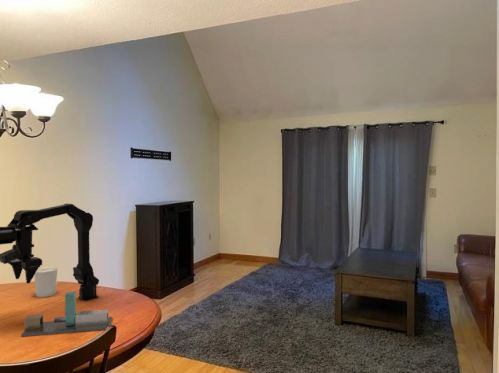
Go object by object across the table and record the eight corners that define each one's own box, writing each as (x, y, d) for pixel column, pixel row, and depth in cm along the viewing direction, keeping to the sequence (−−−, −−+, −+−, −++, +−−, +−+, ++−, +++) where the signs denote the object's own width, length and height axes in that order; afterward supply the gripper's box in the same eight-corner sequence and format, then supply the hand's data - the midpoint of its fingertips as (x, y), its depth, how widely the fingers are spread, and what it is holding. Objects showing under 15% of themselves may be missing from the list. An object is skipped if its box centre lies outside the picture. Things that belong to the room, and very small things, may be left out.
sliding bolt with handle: (107, 319, 144) (106, 289, 143) (105, 322, 141) (105, 292, 140) (56, 323, 140) (55, 292, 139) (53, 326, 137) (53, 295, 136)
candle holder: (62, 292, 180) (62, 267, 180) (45, 298, 171) (44, 272, 170) (46, 290, 183) (46, 266, 183) (29, 296, 174) (28, 270, 174)
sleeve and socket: (112, 319, 147) (112, 306, 147) (108, 329, 138) (108, 315, 137) (31, 325, 141) (31, 312, 141) (21, 336, 131) (21, 322, 131)
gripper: (-10, 241, 148) (-11, 280, 148) (12, 247, 137) (11, 289, 137) (21, 238, 157) (20, 275, 157) (43, 244, 146) (42, 283, 146)
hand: (22, 281), depth 149 cm, fingers open, 9 cm apart
